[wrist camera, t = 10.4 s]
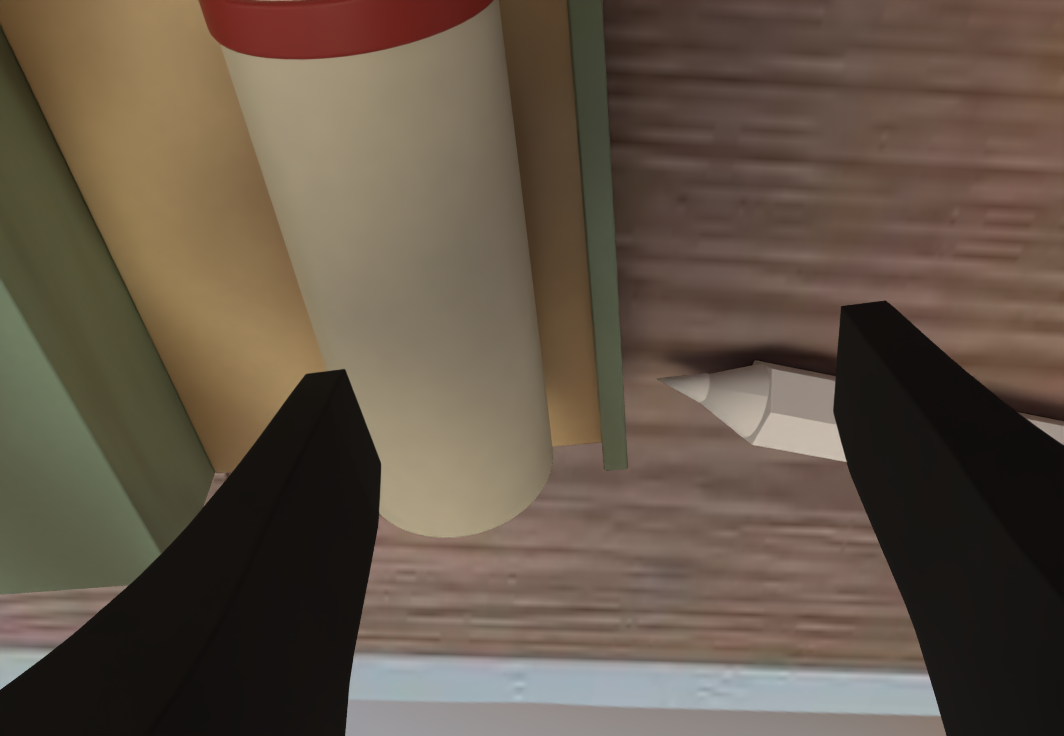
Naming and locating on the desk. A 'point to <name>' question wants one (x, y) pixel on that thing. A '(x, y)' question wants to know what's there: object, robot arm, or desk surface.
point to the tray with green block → (223, 271)
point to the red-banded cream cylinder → (405, 236)
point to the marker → (785, 407)
